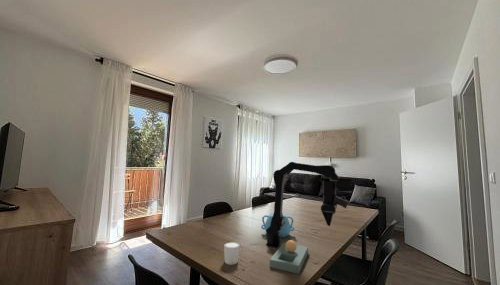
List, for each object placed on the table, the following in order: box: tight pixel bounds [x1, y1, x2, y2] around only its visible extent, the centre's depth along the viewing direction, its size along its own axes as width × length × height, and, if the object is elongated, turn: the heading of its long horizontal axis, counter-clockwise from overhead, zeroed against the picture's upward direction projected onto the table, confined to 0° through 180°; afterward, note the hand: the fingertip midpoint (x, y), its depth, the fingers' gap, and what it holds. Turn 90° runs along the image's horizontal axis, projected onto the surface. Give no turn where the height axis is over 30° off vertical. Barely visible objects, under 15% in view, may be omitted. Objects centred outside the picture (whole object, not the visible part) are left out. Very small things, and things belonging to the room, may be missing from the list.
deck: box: [269, 242, 309, 275], centre depth 96 cm, size 12×22×3 cm, turn 156°
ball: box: [285, 239, 297, 252], centre depth 97 cm, size 5×5×5 cm
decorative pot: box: [260, 213, 295, 238], centre depth 131 cm, size 16×16×14 cm
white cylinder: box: [223, 241, 241, 266], centre depth 93 cm, size 7×7×7 cm
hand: (329, 223), depth 103 cm, fingers open, 9 cm apart
